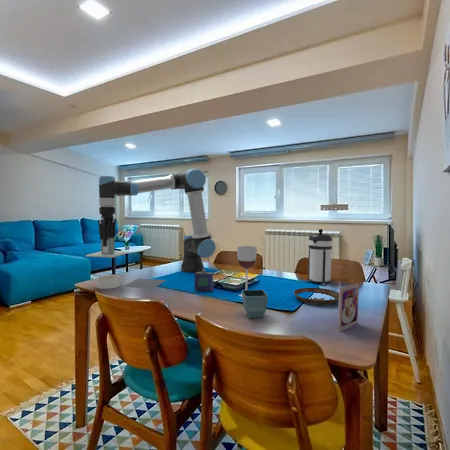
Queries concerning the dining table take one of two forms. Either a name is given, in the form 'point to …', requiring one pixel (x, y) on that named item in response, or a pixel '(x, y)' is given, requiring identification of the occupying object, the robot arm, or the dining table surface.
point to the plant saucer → (315, 300)
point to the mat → (144, 283)
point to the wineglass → (246, 258)
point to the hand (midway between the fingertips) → (107, 252)
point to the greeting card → (348, 305)
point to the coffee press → (320, 257)
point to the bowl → (108, 281)
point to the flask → (203, 281)
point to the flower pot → (254, 302)
